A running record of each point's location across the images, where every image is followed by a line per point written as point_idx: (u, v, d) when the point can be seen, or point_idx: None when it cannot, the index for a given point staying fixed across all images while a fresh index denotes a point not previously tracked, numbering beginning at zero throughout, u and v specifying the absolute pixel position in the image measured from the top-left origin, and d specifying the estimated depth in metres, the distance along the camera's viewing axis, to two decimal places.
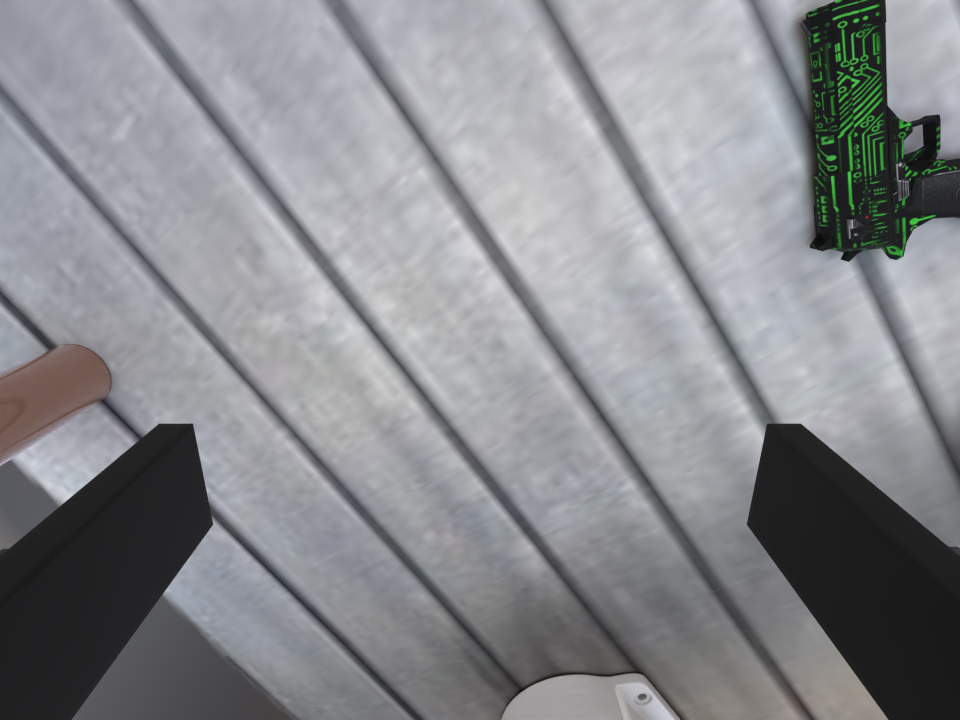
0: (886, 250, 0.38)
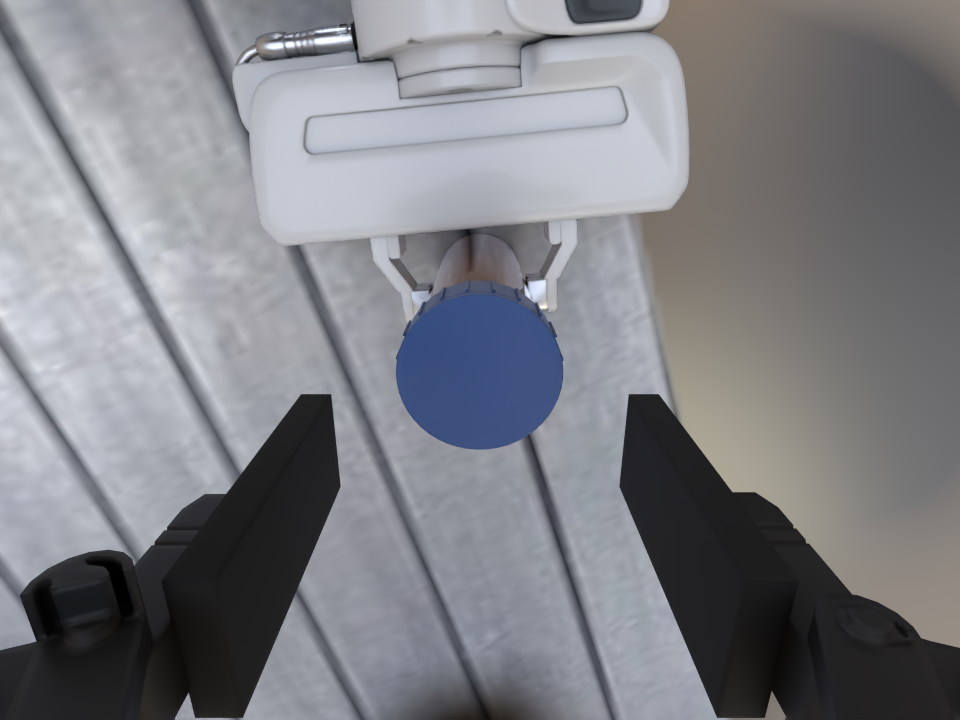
0: None
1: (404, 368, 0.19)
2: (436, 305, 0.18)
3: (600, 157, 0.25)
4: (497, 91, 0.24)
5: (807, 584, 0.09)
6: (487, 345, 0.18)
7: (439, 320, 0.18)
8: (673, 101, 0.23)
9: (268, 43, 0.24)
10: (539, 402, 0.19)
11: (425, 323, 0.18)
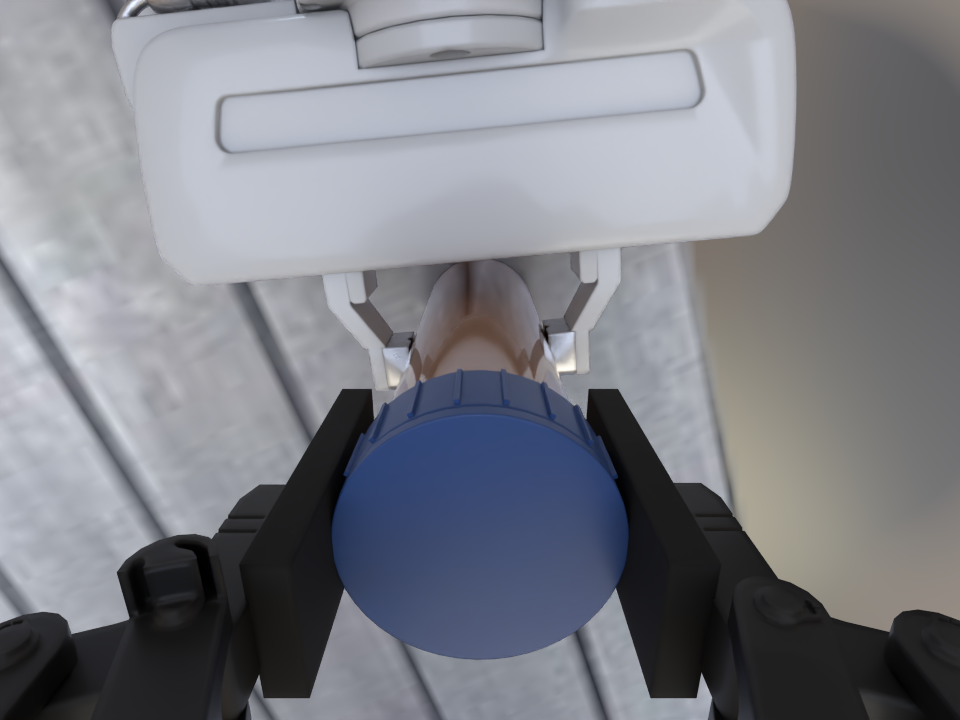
0: None
1: (345, 536, 0.10)
2: (400, 431, 0.10)
3: (659, 157, 0.17)
4: (506, 57, 0.16)
5: (736, 569, 0.09)
6: (495, 499, 0.10)
7: (406, 457, 0.10)
8: (777, 71, 0.15)
9: None
10: (585, 589, 0.11)
11: (380, 463, 0.10)
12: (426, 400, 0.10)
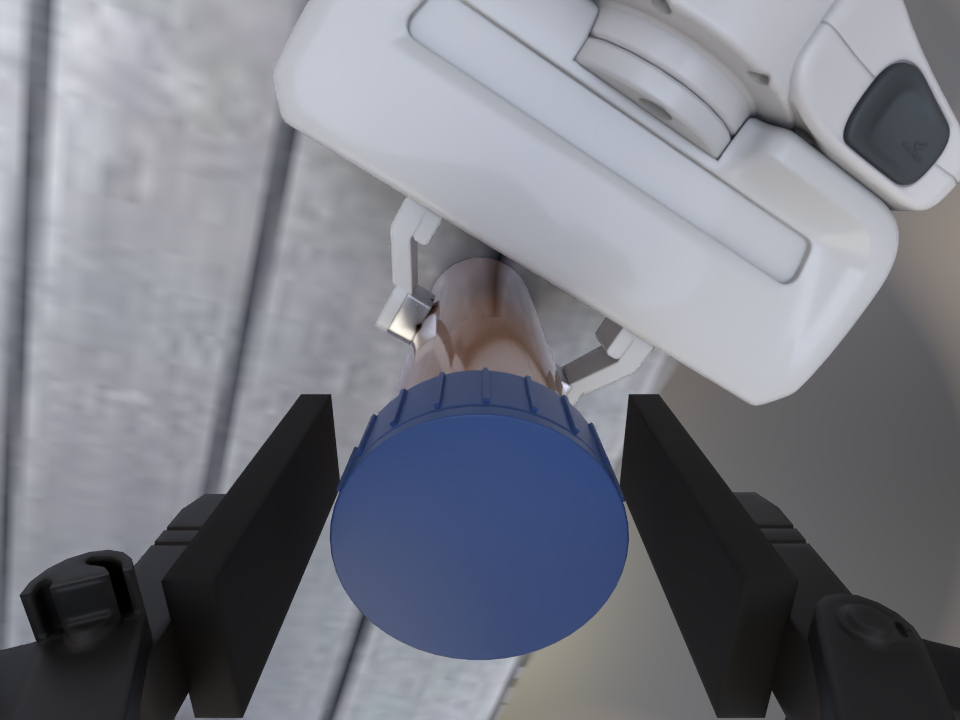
0: None
1: (376, 611, 0.11)
2: (334, 509, 0.10)
3: (734, 302, 0.18)
4: (686, 144, 0.17)
5: (806, 584, 0.09)
6: (449, 504, 0.10)
7: (356, 525, 0.10)
8: (854, 302, 0.18)
9: None
10: (596, 518, 0.10)
11: (342, 542, 0.10)
12: (350, 465, 0.11)
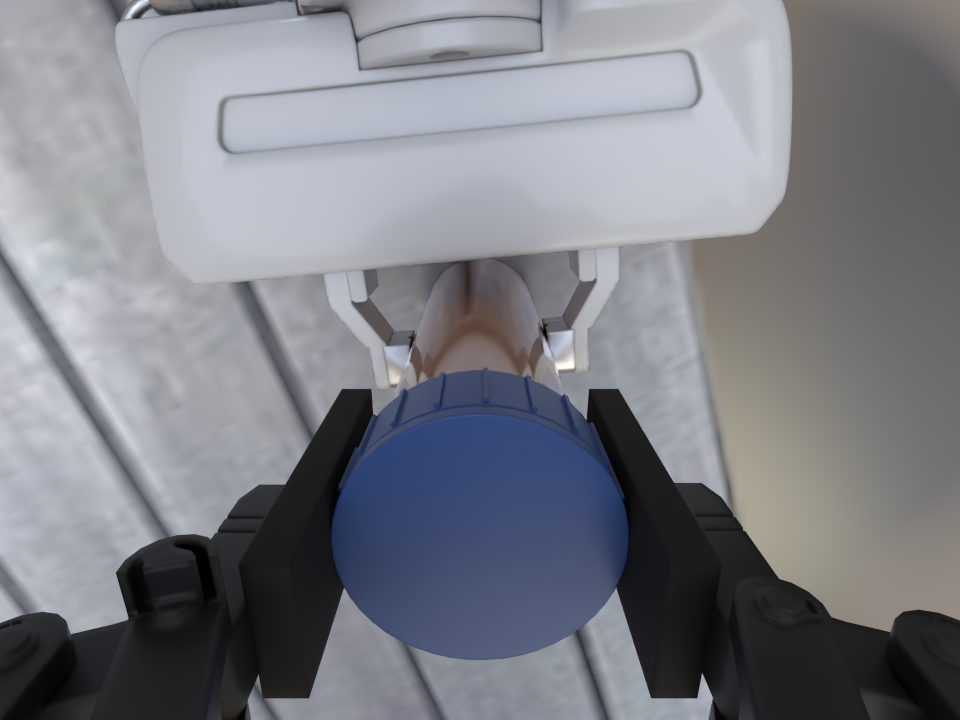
0: None
1: (443, 646, 0.11)
2: (345, 584, 0.11)
3: (657, 157, 0.17)
4: (505, 58, 0.16)
5: (737, 569, 0.09)
6: (425, 528, 0.10)
7: (369, 587, 0.11)
8: (773, 72, 0.15)
9: None
10: (555, 464, 0.10)
11: (370, 607, 0.11)
12: None
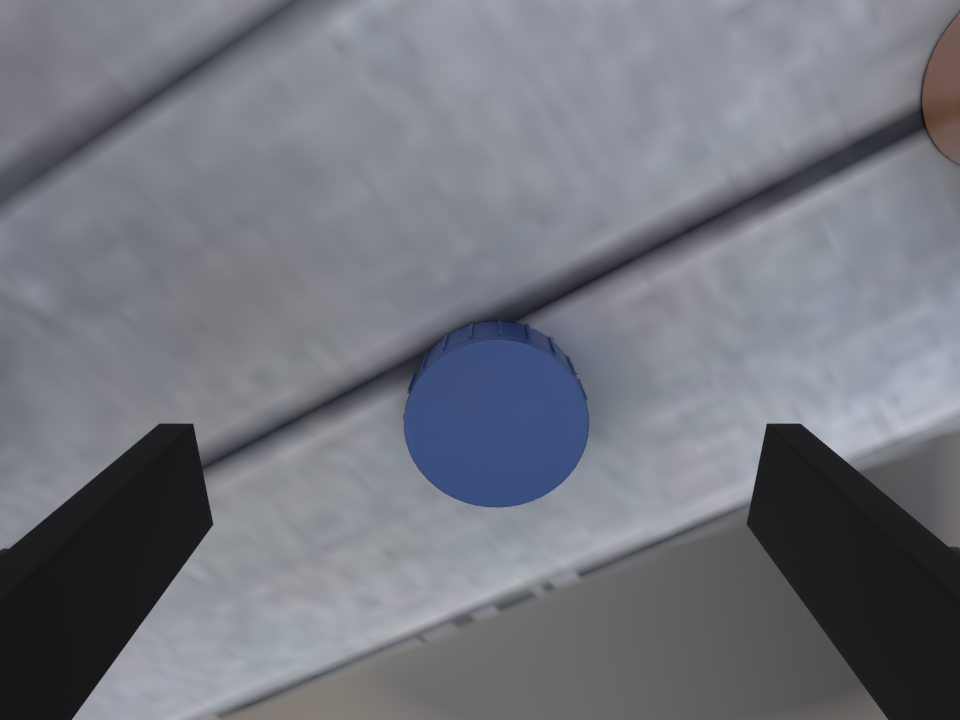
0: None
1: (472, 497, 0.18)
2: (411, 453, 0.17)
3: None
4: None
5: None
6: (462, 413, 0.17)
7: (426, 454, 0.17)
8: None
9: None
10: (542, 371, 0.16)
11: (426, 468, 0.17)
12: None
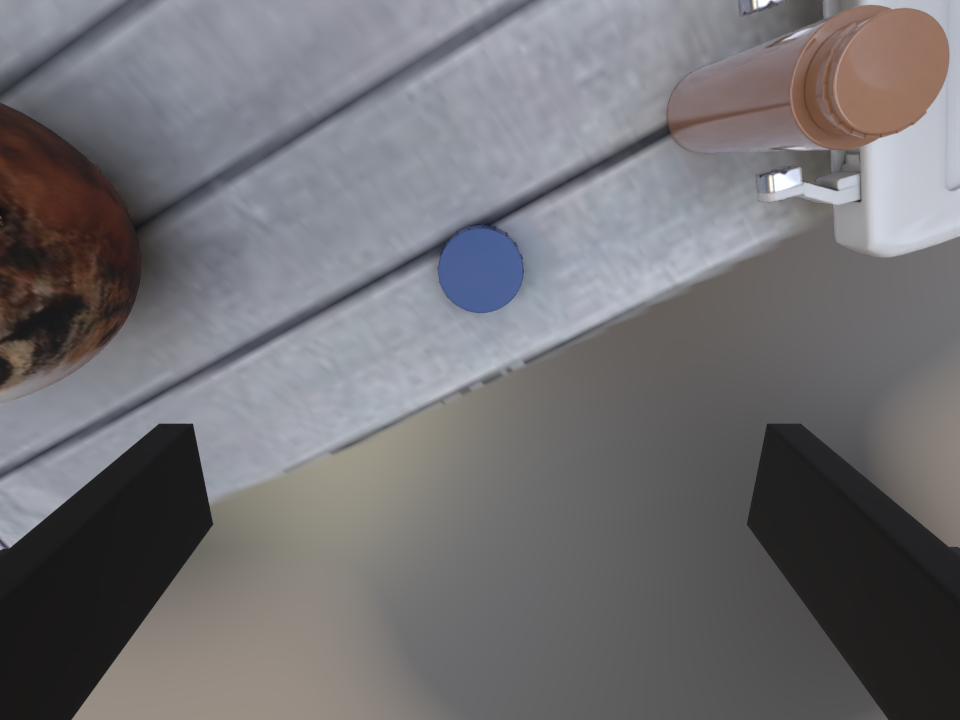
0: None
1: (469, 307, 0.37)
2: (441, 285, 0.37)
3: (921, 175, 0.29)
4: None
5: None
6: (465, 264, 0.36)
7: (448, 285, 0.37)
8: None
9: None
10: (501, 243, 0.36)
11: (448, 292, 0.37)
12: None
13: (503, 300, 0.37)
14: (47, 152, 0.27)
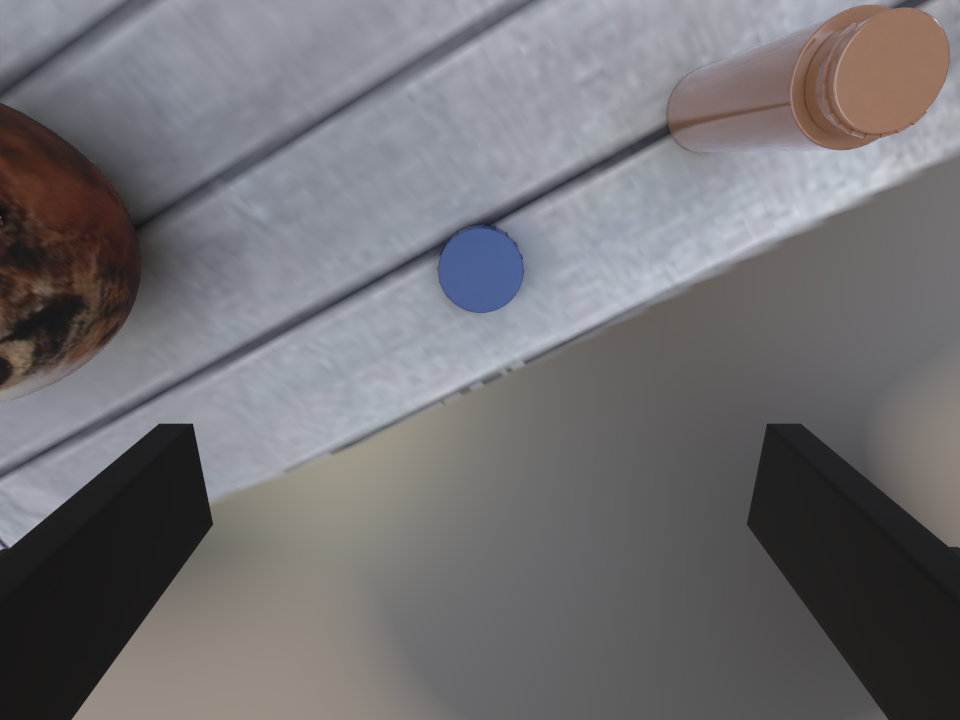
0: None
1: (469, 307, 0.37)
2: (441, 285, 0.37)
3: None
4: None
5: None
6: (465, 264, 0.36)
7: (448, 285, 0.37)
8: None
9: None
10: (501, 243, 0.36)
11: (448, 292, 0.37)
12: None
13: (503, 300, 0.37)
14: (47, 152, 0.27)
